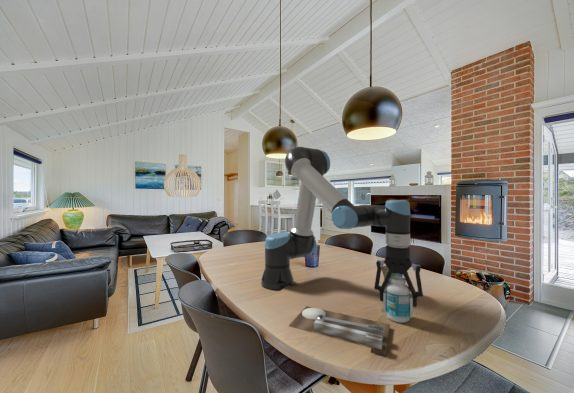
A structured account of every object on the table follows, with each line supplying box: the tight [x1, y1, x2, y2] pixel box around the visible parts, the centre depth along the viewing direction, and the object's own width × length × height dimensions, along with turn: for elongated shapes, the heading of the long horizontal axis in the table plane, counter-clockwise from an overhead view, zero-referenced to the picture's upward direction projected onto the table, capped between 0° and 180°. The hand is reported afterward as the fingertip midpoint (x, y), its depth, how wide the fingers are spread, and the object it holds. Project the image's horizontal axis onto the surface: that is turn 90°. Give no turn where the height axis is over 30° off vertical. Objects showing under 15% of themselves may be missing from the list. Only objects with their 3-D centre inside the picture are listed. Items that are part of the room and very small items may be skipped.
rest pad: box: [301, 307, 326, 320], centre depth 82 cm, size 8×8×1 cm
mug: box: [381, 265, 404, 291], centre depth 104 cm, size 12×9×11 cm
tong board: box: [288, 305, 391, 357], centre depth 75 cm, size 28×15×4 cm, turn 63°
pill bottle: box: [385, 276, 411, 324], centre depth 82 cm, size 8×7×14 cm
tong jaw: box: [317, 315, 383, 336], centre depth 72 cm, size 19×3×3 cm, turn 68°
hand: (397, 313), depth 82 cm, fingers closed on pill bottle, 7 cm apart
